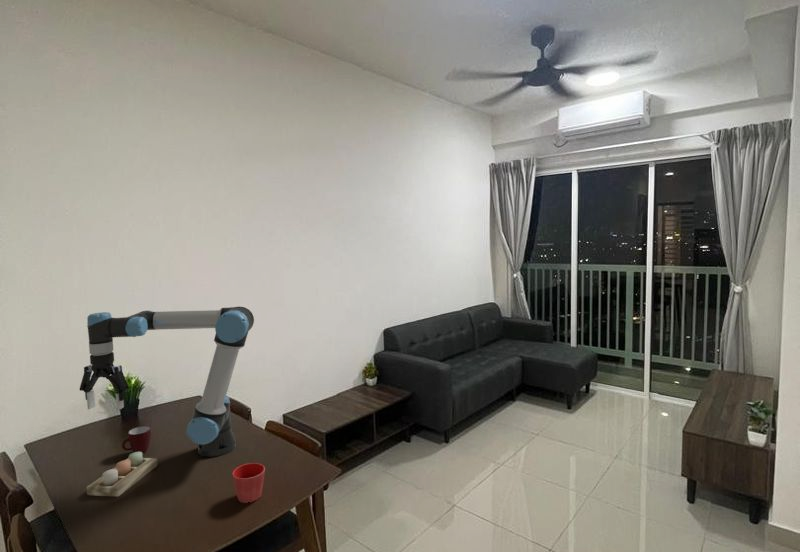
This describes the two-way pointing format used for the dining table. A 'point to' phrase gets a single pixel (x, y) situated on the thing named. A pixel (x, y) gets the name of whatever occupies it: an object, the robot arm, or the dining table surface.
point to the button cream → (110, 476)
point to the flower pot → (249, 481)
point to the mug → (138, 439)
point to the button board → (122, 480)
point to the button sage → (136, 458)
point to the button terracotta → (123, 467)
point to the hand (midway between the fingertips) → (105, 408)
